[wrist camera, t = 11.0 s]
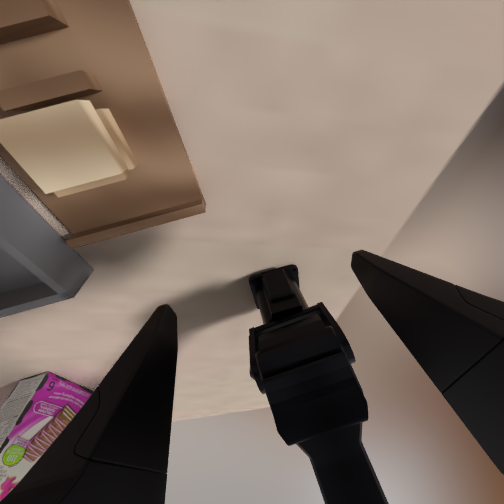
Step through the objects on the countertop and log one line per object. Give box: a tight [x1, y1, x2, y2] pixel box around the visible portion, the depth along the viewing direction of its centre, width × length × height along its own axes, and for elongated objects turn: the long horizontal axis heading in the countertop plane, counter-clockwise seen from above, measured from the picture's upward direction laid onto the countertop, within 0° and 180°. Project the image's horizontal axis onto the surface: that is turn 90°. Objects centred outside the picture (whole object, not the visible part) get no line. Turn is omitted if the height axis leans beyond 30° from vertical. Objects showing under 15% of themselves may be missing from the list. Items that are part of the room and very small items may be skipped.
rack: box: [0, 0, 206, 248], centre depth 13 cm, size 16×12×2 cm
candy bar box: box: [0, 372, 93, 501], centre depth 26 cm, size 11×5×16 cm, turn 15°
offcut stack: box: [0, 100, 139, 198], centre depth 13 cm, size 4×5×4 cm
